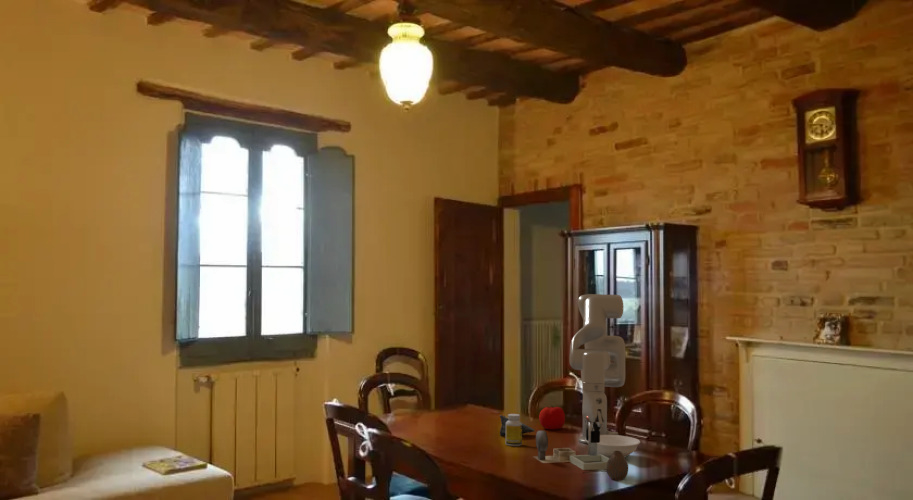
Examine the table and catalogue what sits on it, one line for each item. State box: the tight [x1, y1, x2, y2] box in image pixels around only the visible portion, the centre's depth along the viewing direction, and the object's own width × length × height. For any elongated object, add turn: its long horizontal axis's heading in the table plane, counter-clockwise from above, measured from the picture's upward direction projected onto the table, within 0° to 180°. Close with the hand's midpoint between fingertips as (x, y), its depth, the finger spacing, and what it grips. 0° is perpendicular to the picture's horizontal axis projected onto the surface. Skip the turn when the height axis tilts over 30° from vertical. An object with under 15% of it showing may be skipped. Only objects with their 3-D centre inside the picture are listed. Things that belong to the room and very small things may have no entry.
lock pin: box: [586, 416, 598, 456], centre depth 268 cm, size 5×5×13 cm
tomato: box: [538, 404, 566, 430], centre depth 339 cm, size 11×13×10 cm
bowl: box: [585, 434, 641, 458], centre depth 285 cm, size 20×20×6 cm
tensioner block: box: [532, 430, 577, 464], centre depth 276 cm, size 14×10×11 cm
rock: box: [499, 414, 535, 437], centre depth 322 cm, size 16×8×10 cm
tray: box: [569, 454, 610, 474], centre depth 268 cm, size 12×12×3 cm
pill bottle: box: [504, 413, 523, 447], centre depth 304 cm, size 6×6×12 cm
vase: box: [606, 451, 629, 481], centre depth 254 cm, size 7×7×9 cm
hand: (592, 441), depth 268 cm, fingers closed on lock pin, 3 cm apart
